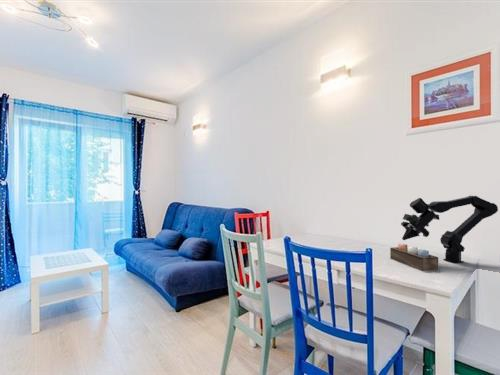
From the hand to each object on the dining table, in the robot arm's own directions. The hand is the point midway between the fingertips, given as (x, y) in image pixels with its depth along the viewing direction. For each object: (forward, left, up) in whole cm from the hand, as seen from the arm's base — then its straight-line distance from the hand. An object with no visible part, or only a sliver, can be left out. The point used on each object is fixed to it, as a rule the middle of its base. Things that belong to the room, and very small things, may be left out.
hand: (402, 239), depth 144 cm
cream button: (0, +7, -8) cm, 10 cm away
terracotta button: (0, 0, -8) cm, 8 cm away
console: (0, +7, -11) cm, 13 cm away
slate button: (0, +14, -8) cm, 16 cm away
